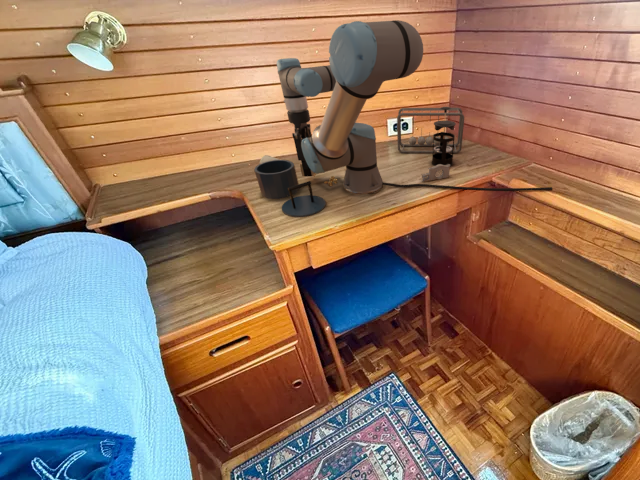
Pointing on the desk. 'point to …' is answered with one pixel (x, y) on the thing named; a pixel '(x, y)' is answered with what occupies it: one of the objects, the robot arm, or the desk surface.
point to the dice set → (331, 181)
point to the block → (303, 171)
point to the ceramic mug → (267, 159)
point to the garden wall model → (433, 170)
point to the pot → (276, 178)
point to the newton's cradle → (429, 139)
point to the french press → (443, 142)
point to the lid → (303, 203)
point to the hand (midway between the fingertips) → (310, 173)
